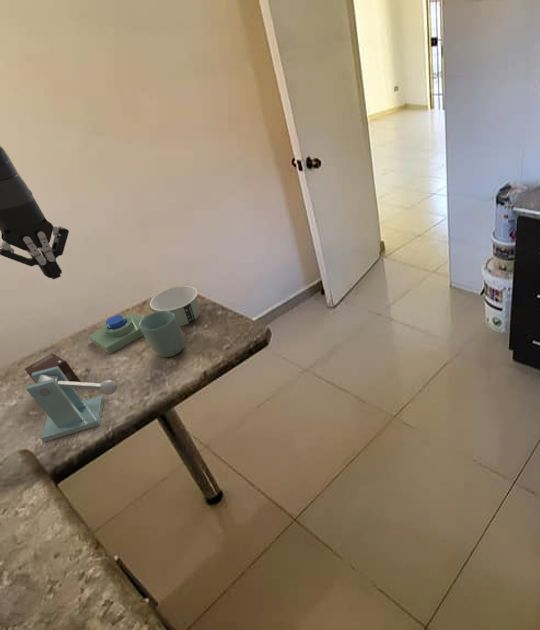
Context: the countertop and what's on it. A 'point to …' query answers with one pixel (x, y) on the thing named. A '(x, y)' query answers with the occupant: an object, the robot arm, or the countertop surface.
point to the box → (52, 362)
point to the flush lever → (84, 384)
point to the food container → (178, 303)
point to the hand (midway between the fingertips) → (55, 277)
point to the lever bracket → (63, 406)
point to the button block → (117, 334)
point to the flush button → (116, 322)
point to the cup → (163, 333)
